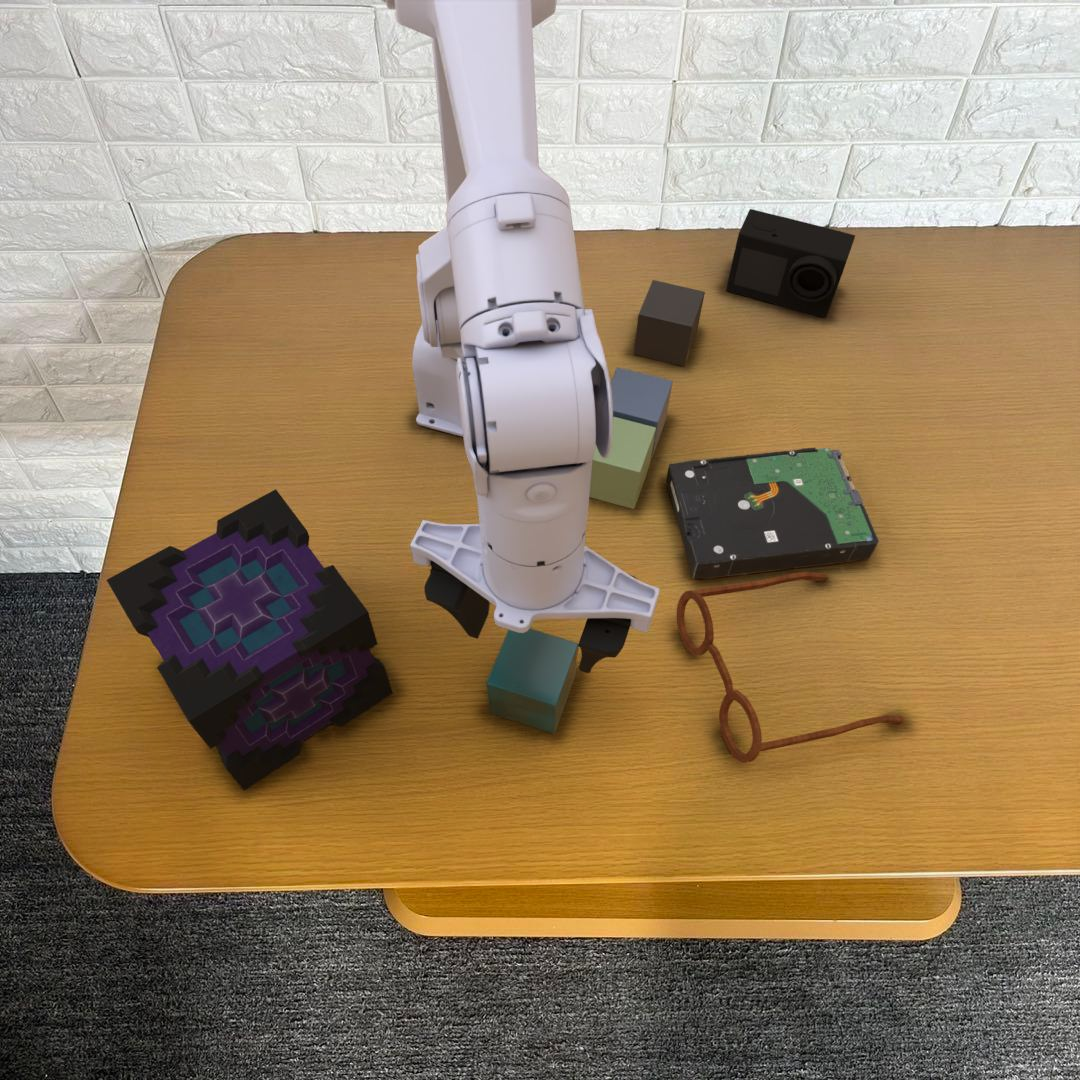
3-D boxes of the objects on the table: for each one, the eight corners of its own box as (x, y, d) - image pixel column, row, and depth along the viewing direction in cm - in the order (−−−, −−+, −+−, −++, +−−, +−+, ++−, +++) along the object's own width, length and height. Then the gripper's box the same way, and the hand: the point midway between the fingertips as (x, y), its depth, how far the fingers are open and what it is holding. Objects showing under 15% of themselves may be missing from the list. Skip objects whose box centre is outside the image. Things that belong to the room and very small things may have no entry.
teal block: (488, 713, 65) (485, 683, 61) (512, 654, 67) (511, 622, 63) (554, 734, 64) (556, 706, 60) (576, 674, 67) (578, 642, 62)
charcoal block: (633, 354, 85) (638, 314, 81) (647, 320, 88) (652, 279, 84) (684, 367, 84) (692, 326, 80) (697, 332, 87) (705, 291, 83)
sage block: (577, 494, 76) (579, 456, 72) (594, 451, 79) (597, 412, 74) (634, 509, 75) (640, 472, 71) (649, 465, 78) (656, 427, 74)
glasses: (670, 615, 69) (679, 581, 65) (824, 576, 71) (842, 541, 67) (737, 775, 62) (751, 748, 58) (905, 726, 64) (931, 697, 60)
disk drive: (692, 585, 71) (872, 560, 72) (697, 566, 69) (883, 541, 70) (662, 483, 77) (829, 461, 78) (666, 462, 75) (838, 440, 76)
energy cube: (169, 664, 67) (106, 579, 57) (311, 581, 71) (275, 488, 61) (243, 790, 61) (188, 721, 52) (392, 693, 66) (368, 611, 56)
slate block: (596, 446, 79) (600, 407, 75) (612, 406, 82) (616, 366, 77) (651, 460, 78) (658, 422, 74) (665, 419, 81) (673, 380, 77)
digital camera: (720, 298, 90) (733, 240, 84) (735, 265, 93) (749, 206, 87) (823, 326, 88) (844, 268, 82) (835, 292, 90) (856, 233, 85)
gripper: (376, 543, 47) (406, 660, 58) (645, 623, 44) (622, 730, 55) (429, 445, 51) (448, 573, 62) (679, 514, 48) (652, 635, 59)
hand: (533, 641), depth 59 cm, fingers open, 7 cm apart
